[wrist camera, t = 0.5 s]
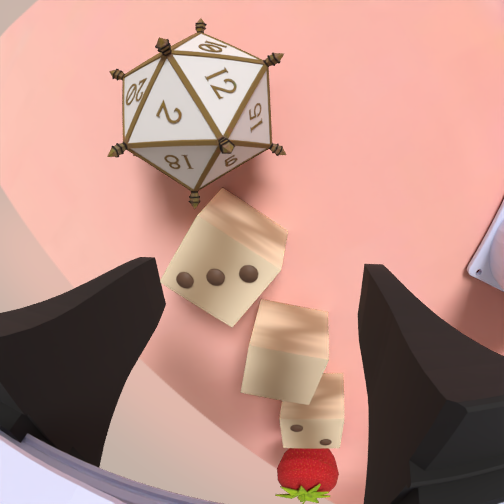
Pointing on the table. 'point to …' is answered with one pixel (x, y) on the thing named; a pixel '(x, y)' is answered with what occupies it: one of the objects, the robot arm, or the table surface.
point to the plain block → (286, 352)
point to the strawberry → (307, 473)
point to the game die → (197, 109)
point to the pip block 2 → (315, 417)
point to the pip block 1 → (227, 258)
